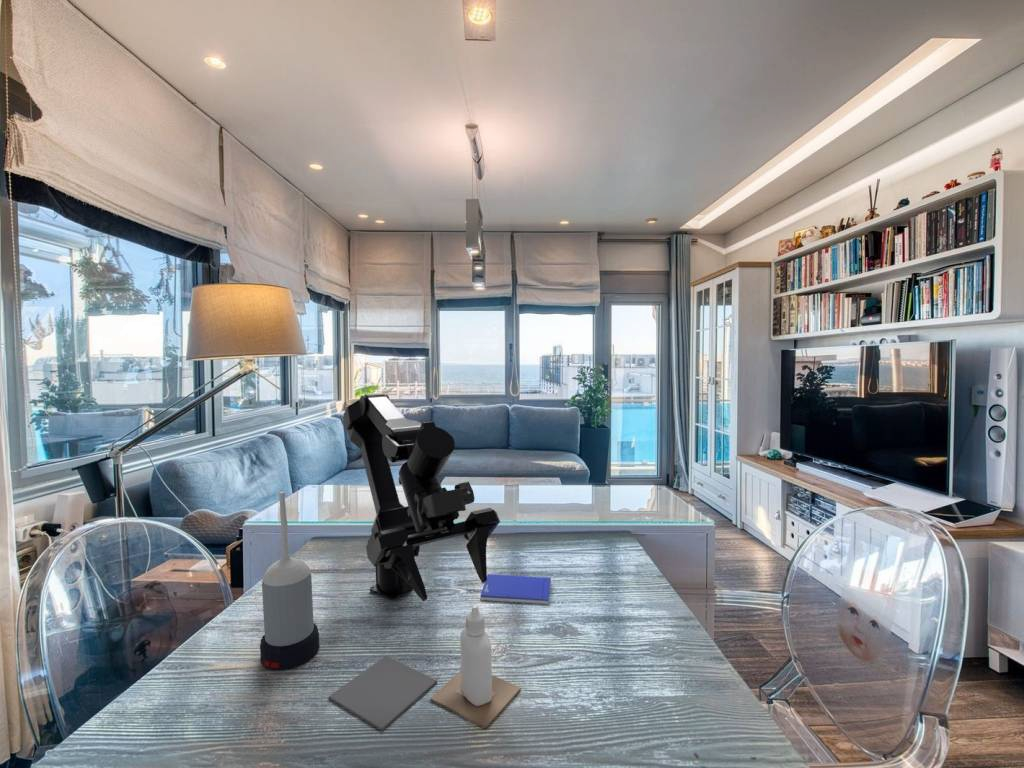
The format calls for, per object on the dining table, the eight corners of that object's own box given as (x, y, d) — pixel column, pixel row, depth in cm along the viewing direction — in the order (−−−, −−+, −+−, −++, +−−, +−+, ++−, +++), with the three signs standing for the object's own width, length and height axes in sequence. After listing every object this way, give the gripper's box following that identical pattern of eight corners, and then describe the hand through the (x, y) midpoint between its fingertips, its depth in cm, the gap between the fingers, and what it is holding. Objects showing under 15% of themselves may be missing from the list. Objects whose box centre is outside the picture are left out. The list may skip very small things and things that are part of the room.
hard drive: (480, 594, 90) (548, 598, 88) (487, 572, 98) (550, 576, 96) (480, 602, 90) (548, 606, 88) (487, 580, 98) (550, 584, 97)
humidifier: (257, 677, 70) (247, 504, 67) (263, 643, 77) (254, 487, 75) (319, 662, 73) (312, 496, 70) (319, 631, 80) (312, 481, 78)
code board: (430, 700, 65) (430, 697, 65) (467, 665, 72) (467, 663, 72) (485, 729, 60) (485, 726, 60) (520, 689, 67) (520, 687, 67)
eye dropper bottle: (493, 677, 69) (492, 595, 68) (491, 708, 63) (490, 618, 62) (462, 677, 69) (460, 595, 68) (457, 708, 63) (455, 618, 62)
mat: (328, 698, 65) (328, 696, 65) (386, 657, 74) (386, 655, 74) (381, 730, 60) (381, 728, 60) (437, 682, 68) (436, 680, 68)
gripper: (374, 475, 68) (405, 587, 59) (493, 457, 78) (533, 550, 69) (361, 514, 75) (386, 618, 67) (470, 493, 85) (504, 581, 77)
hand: (456, 590), depth 70 cm, fingers open, 9 cm apart
